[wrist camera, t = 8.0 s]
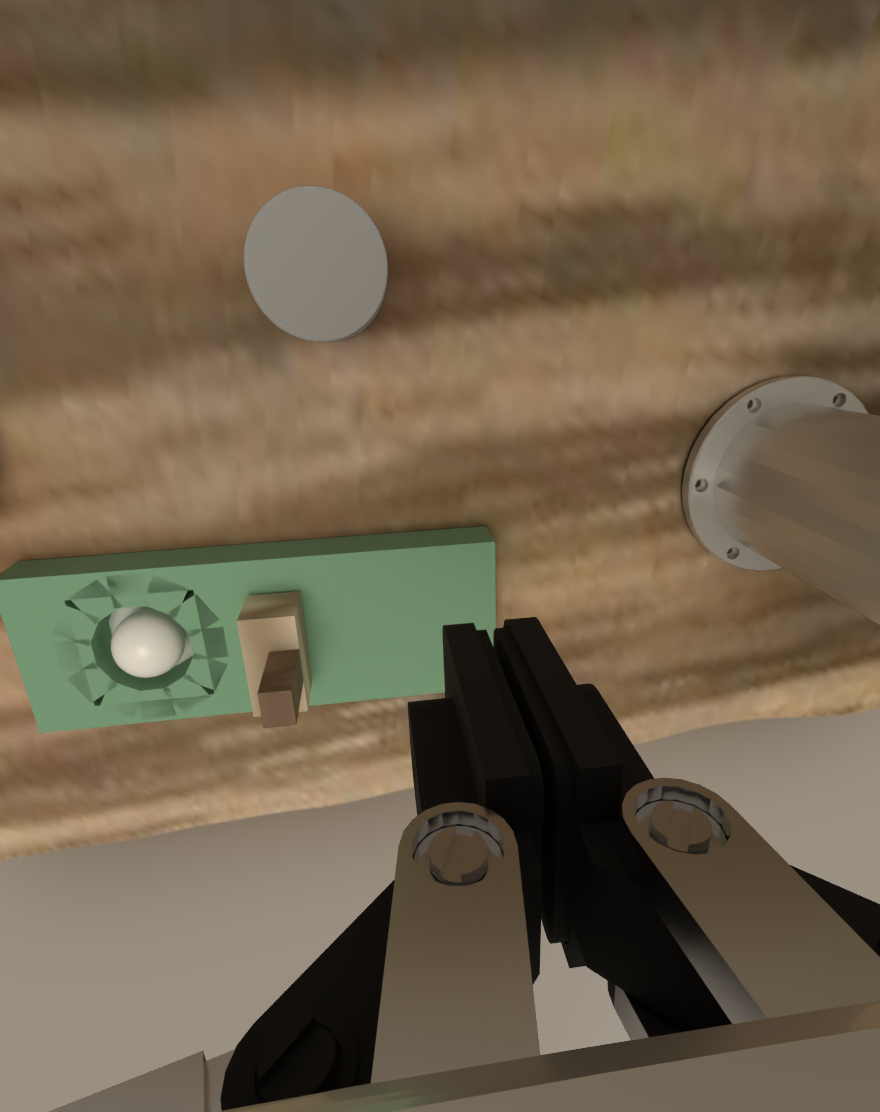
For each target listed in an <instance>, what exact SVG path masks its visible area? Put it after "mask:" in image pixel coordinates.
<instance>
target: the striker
mask: <svg viewBox="0 0 880 1112" xmlns="http://www.w3.org/2000/svg"><path fill="white" fill-rule="evenodd" d="M237 626H238V632H239V637H240V643H241V649H242V654H243V660H244V665H245V671H246V677H247V682H248V688H249V694H250V699H251V705H252V710H253V716H254V717H255V716H261V718H262V724H263V728H271V727H281V726H290V725H296V724H297V718H298V712H305V711H308V707H309V700H310V693H311V686H312V675H311V667H310V660H309V652H308V645H307V637H306V630H305V622H304V615H303V607H302V600H301V592H300V591H297V592H285V593H273V594H261V595H249V596H247V597H246V600H245V602H244V604H243V607H242V609H241V612H240V614H239V616H238V619H237Z"/></svg>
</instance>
